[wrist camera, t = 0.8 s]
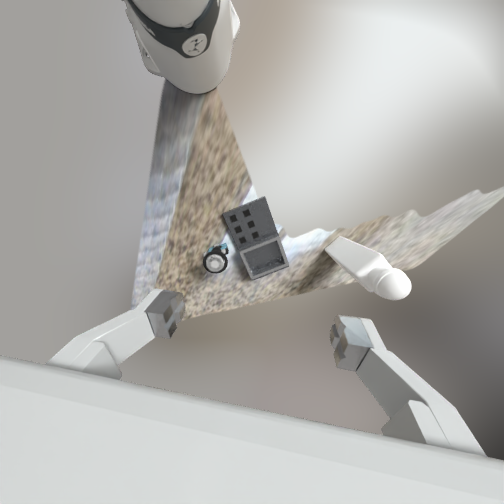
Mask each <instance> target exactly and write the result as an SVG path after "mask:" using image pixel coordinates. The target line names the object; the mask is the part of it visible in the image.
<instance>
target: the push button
mask: <svg viewBox="0 0 504 504" xmlns="http://www.w3.org/2000/svg"><path fill="white" fill-rule="evenodd" d="M218 244H219V243H217V245H216V244H215V245H214V247H212V248H209V250H208V251H207V252H204V254H203V255H204V259H203V265H204V267H205V269H206V270H207V271H209V272H211V273H220V272H222V271H224V270H225V269H226V267H227V264H228V260H227V257H226V254H228V251H229V250H228V248H227V245H226V243H224V244H222V245H218ZM208 256H209V257H208ZM207 257H208V258H207ZM224 260H225V263H224Z"/></svg>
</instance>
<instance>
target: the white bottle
mask: <svg viewBox="0 0 504 504" xmlns="http://www.w3.org/2000/svg"><path fill="white" fill-rule="evenodd" d="M325 251H326V252H327V253H328V254H329V256H330V257H331V258H332V259H333V260H334V261H335V262H336V263H337V264H338V265H340V266H341V267H342V268H343V269H344V270H345V271H346V272H348V273H349V274H350V275H351V276H352V277H353V278H354V279H355V280H357V281H358V282H359V283H360V284H361V285H362V286H363V287H364V288H365V289H367V290H368V291H369V292H375V293H376V294H378V295H379V296H381V297H383V298H386V299H390V300H399V299H403V298H405V297H406V296H407V295H408V294H409V293H410V291H411V282H410V280H409V278H408V277H407V276H406V275H405V273H404V272H402V271H401V270H399V269H396V268H392V267H391V266H390V264H389V263H388V262H387V261H386V259H385V258H384V257H383V255H382V254H380V253H378V252H376V251H374V250H371V249H369V248H367V247H365V246H362V245H360V244H358V243H355V242H353V241H351V240H349V239H346V238H344V237H342V236H339V237H337V238H336V239H335V240H334V241H333V242H332V243H331V244H330V245H329V246H327V247H326V248H325Z"/></svg>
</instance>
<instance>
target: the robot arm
mask: <svg viewBox="0 0 504 504" xmlns="http://www.w3.org/2000/svg"><path fill="white" fill-rule="evenodd" d="M122 1H125V3H126V6H127V9H126V14H127V16H128V19H129V21H130V23H131V24H132V26H133V29H134V33H135V36H136V39H137V42H138V46H139V49H140V52H141V56H142V59H143V62H144V64H145V67H146V68H147V69H148V71H149V72H151V73H152V74H155V75H158V76H161V77H164V78H166V79H167V80H169V81H170V82H171V83H172V84H173V85H175V86H176V87H178V88H179V89H181V90H183V91H185V92H188V93H193V94H201V93H206V92H208V91H211V90H212V89H214V88H215V87H217V86H218V85H219V83H220V82H221V81H222V80H223V78H224V77H225V75H226V73H227V71H228V68H229V64H230V60H231V52H232V47H233V44H234V42H235V40H236V38H237V36H238V34H239V31H240V21H239V18H238V16H237V13H236V11H235V9H234V7H233V5H232V3H231V1H230V0H122ZM147 54H148V55H149V57H147ZM183 298H184V297H183V293H180V292H175V291H169V290H162V289H153V290H152V291H151V292H150V293H149V294H148V295H147V296H146V298H145V299H144V300H143V301H142V302H141V303H140V304H139V305H138V306H137V307H136V308H135V309H134V310H130V311H128V312H126V313H124V314H121V315H120V316H117V317H115V318H113V319H111V320H109V321H107V322H105V323H103V324H101V325H99V326H97V327H95V328H92V329H91V330H89V331H87V332H84V333H82V334H80V335H78V336H76V337H75V338H74V339H73V340H71V341H70V342H69V343H68V344H67V345H66V346H65V347H64V348H62V350H60V351H59V352H58V353H57V354H56V355H55V356H54V357H53V358H51V359H50V360H49V361H48V362H47V363H46V364H40V363H36V362H31V361H26V360H21V359H16V358H11V357H7V356H2V355H0V504H504V461H503V460H498V459H494V458H489V457H487V456H486V454H485V453H484V451H483V450H482V448H481V447H480V445H479V444H478V442H477V441H476V439H475V438H474V436H473V434H472V433H471V431H470V430H469V428H468V427H467V425H466V424H465V422H464V421H463V419H462V418H461V416H460V414H459V413H458V411H457V410H456V408H455V407H454V406H453V405H452V404H450V403H449V402H448V401H447V400H446V399H445V398H444V397H442V396H441V395H440V394H439V393H438V392H437V391H436V390H434V389H433V388H432V387H431V386H430V385H429V384H427V383H426V382H425V381H424V380H423V379H422V378H421V377H419V376H418V375H417V374H416V373H415V372H413V370H411V369H410V368H409V367H408V366H407V365H406V364H405V363H403V362H402V361H401V360H400V359H399V358H398V357H397V356H395V355H394V354H393V353H392V352H391V351H387V350H386V348H385V346H384V344H383V342H382V340H381V338H380V336H379V334H378V332H377V330H376V328H375V326H374V324H373V322H372V321H371V320H370V319H365V318H358V317H351V316H343V315H336V317H335V319H334V321H335V324H334V325H332V327H331V330H330V341H331V345H332V346H333V348H334V349H335V351H334V358H335V363H336V366H337V368H340V369H345V370H350V371H355V372H356V374H357V375H358V376H359V378H360V379H361V380H362V382H363V383H364V384H365V385H366V387H367V388H368V389H369V391H370V392H371V393H372V395H373V396H374V398H375V399H376V400H377V401H378V403H379V404H380V405H381V407H382V408H383V409H384V411H385V412H386V413H387V415H388V416H389V417H390V420H389V421H388V422H387V423H386V424H385V425H384V426H383V427H382V429H381V430H382V432H383V435H379V434H374V433H370V432H365V431H360V430H355V429H350V428H346V427H341V426H336V425H331V424H327V423H322V422H317V421H312V420H307V419H303V418H298V417H293V416H289V415H284V414H279V413H274V412H270V411H265V410H260V409H255V408H251V407H246V406H241V405H236V404H231V403H227V402H221V401H217V400H212V399H207V398H202V397H198V396H193V395H188V394H184V393H179V392H174V391H169V390H165V389H160V388H155V387H150V386H146V385H141V384H136V383H131V382H126V381H122V380H120V378H121V377H122V372H121V370H120V369H119V367H118V365H119V364H120V363H121V362H123V361H124V360H126V359H127V358H128V357H130V356H131V355H132V354H134V353H135V352H136V351H137V350H139V349H140V348H141V347H143V346H144V345H146V344H147V343H148V342H149V341H151V340H152V339H154V338H155V337H162V338H169V339H170V338H171V337H172V335H173V333H174V332H175V330H176V328H177V325H176V324H177V323H178V322H180V321H181V320H182V318H183V317H184V313H185V303H184V302H183V301H182V300H183Z"/></svg>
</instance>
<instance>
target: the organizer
mask: <svg viewBox="0 0 504 504" xmlns="http://www.w3.org/2000/svg"><path fill="white" fill-rule="evenodd" d="M223 216H224V219H225V221H226V223H227V225H228V227H229V230H230V232H231V234H232V236H233V239H234V241H235V243H236V245H237V247H238V250H239V253H240V255H241V258H242V260H243V262H244V264H245V266H246V269H247V271H248V273H249V275H250V278H251V280H255V279H257V278H260V277H263V276H265V275H268V274H270V273H273V272H276V271H278V270H281V269H283V268H286V267H289V263H288V261H287V258H286V255H285V252H284V249H283V246H282V243H281V240H280V237H279V235H278V233H277V230H276V227H275V224H274V221H273V218H272V216H271V212H270V210H269V207H268V204H267V201H266V198H265V196H264V197H261V198H259V199H256V200H254V201H251V202H249V203H246V204H244V205H242V206H239V207H237V208H234V209H232V210H229V211H227V212H225V213H223Z"/></svg>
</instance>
